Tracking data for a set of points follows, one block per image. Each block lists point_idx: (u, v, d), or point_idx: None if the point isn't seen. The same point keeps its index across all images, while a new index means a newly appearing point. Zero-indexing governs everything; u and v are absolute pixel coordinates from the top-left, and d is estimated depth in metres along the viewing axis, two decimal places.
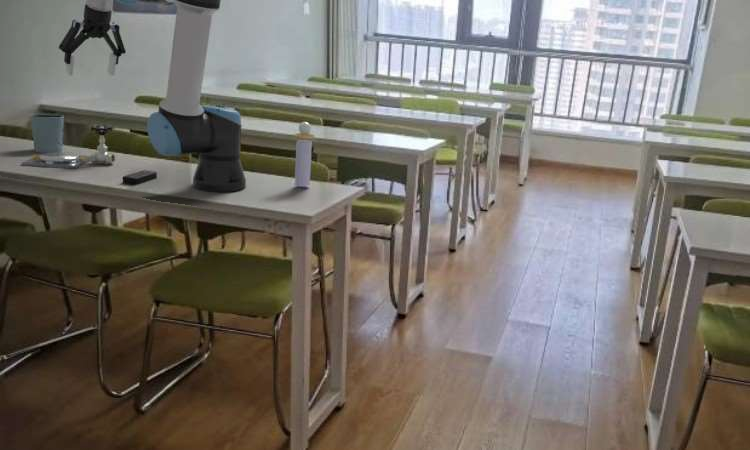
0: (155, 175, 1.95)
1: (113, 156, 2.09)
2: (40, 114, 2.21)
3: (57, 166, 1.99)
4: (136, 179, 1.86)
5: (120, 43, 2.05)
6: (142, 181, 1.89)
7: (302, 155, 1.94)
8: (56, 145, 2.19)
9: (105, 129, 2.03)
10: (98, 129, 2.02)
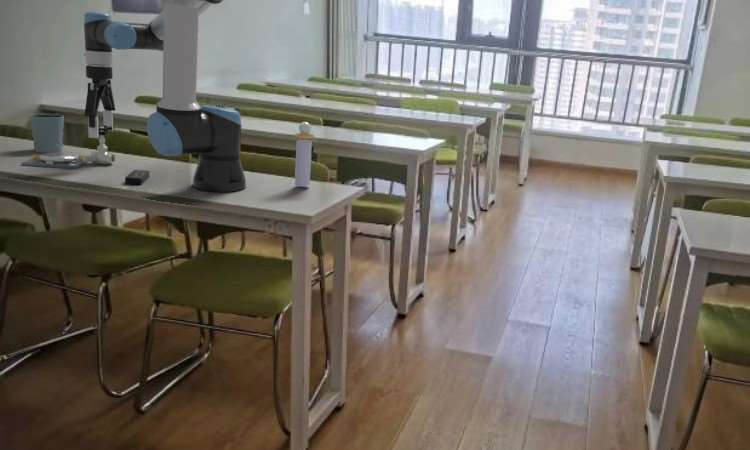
0: (148, 174, 1.96)
1: (113, 156, 2.09)
2: (40, 114, 2.21)
3: (57, 166, 1.99)
4: (141, 179, 1.86)
5: (112, 97, 2.10)
6: (143, 181, 1.89)
7: (302, 155, 1.94)
8: (56, 145, 2.19)
9: (105, 129, 2.03)
10: (98, 129, 2.02)
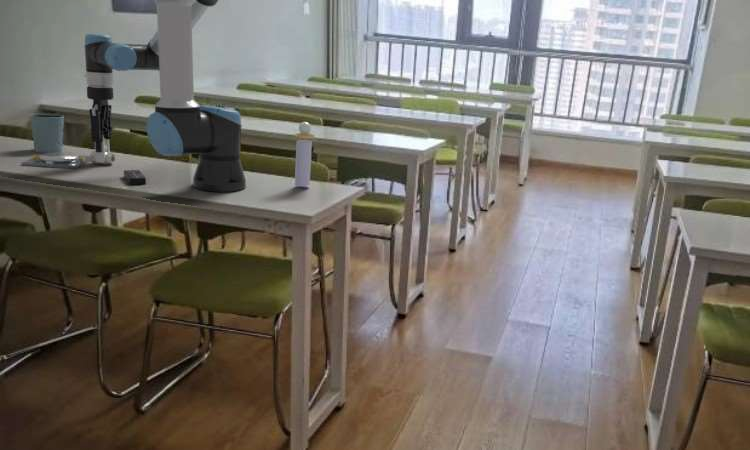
0: None
1: (113, 156, 2.09)
2: (40, 114, 2.21)
3: (57, 166, 1.99)
4: None
5: (110, 124, 2.10)
6: None
7: (302, 155, 1.94)
8: (56, 145, 2.19)
9: (105, 129, 2.03)
10: None
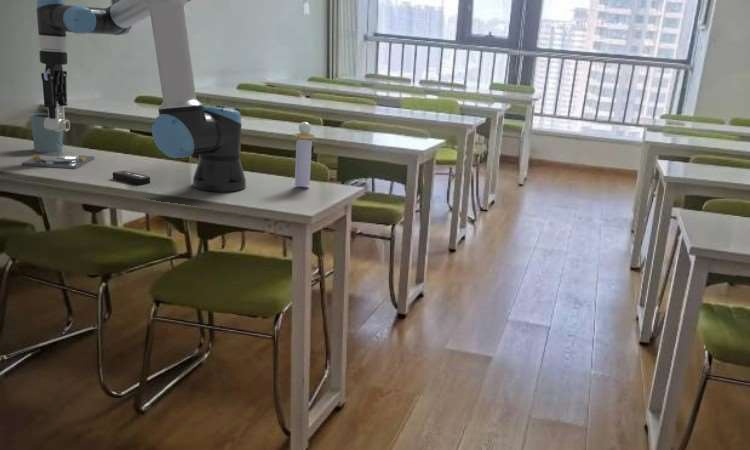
0: None
1: (68, 123, 2.04)
2: (40, 114, 2.21)
3: (57, 166, 1.99)
4: None
5: (65, 90, 2.05)
6: None
7: (302, 155, 1.94)
8: (56, 145, 2.19)
9: (58, 94, 1.98)
10: None
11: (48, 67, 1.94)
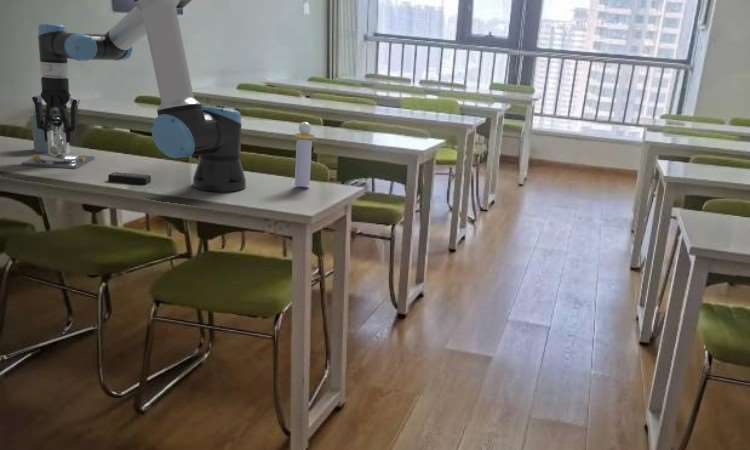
0: None
1: None
2: None
3: (57, 166, 1.99)
4: None
5: None
6: None
7: (302, 155, 1.94)
8: None
9: None
10: None
11: (67, 93, 2.00)
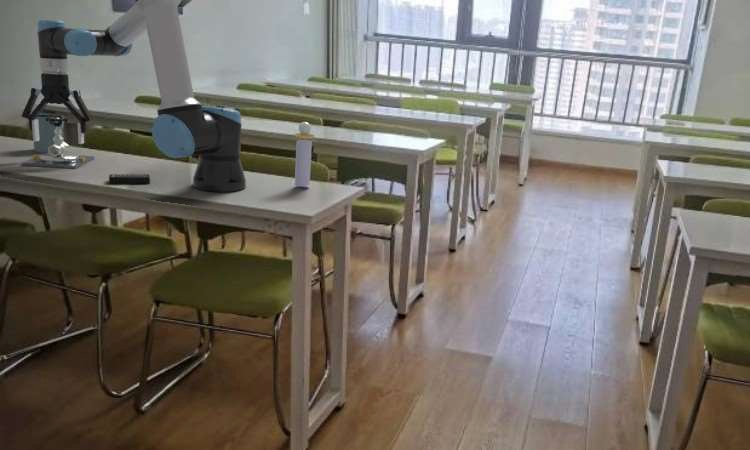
0: None
1: None
2: (40, 114, 2.21)
3: (57, 166, 1.99)
4: None
5: None
6: None
7: (302, 155, 1.94)
8: None
9: None
10: None
11: (67, 89, 2.00)
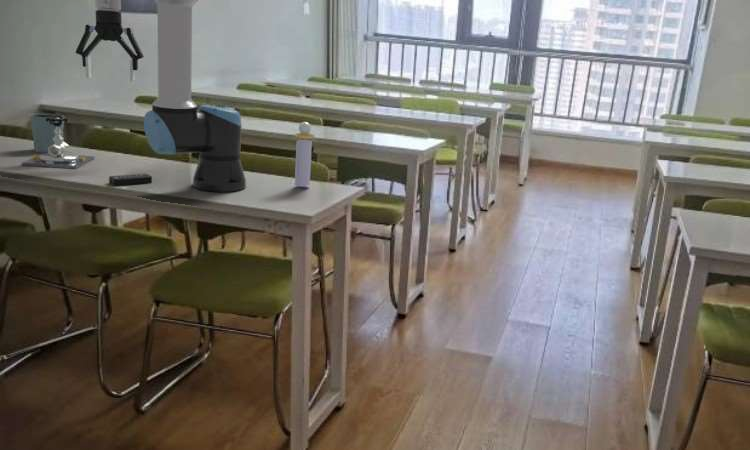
0: None
1: None
2: (40, 114, 2.21)
3: (57, 166, 1.99)
4: None
5: None
6: None
7: (302, 155, 1.94)
8: None
9: None
10: None
11: (120, 27, 2.06)
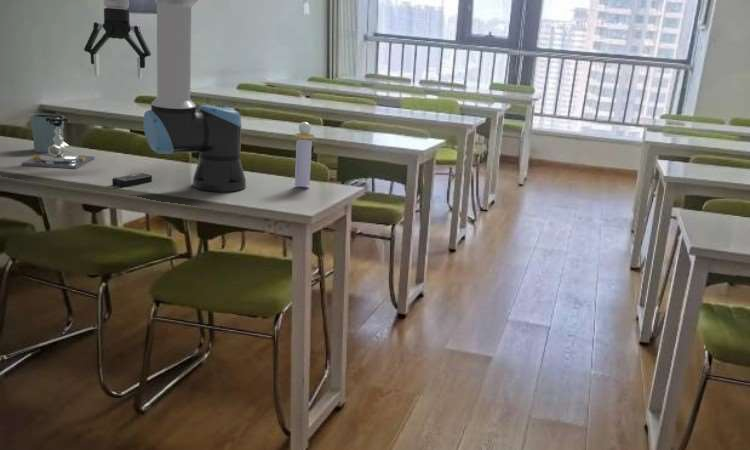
0: None
1: None
2: (40, 114, 2.21)
3: (57, 166, 1.99)
4: None
5: None
6: None
7: (302, 155, 1.94)
8: None
9: None
10: None
11: (128, 25, 2.08)
